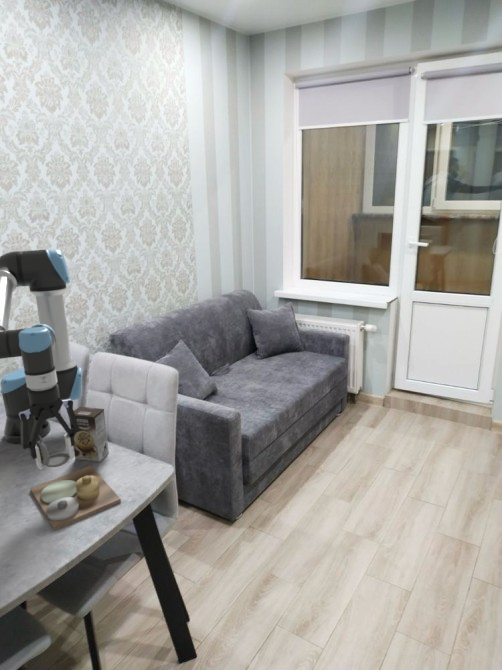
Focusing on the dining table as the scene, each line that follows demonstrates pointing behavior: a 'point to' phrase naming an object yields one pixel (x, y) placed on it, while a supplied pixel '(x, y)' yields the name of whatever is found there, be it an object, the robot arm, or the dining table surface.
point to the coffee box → (90, 434)
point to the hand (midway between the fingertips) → (55, 461)
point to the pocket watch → (51, 456)
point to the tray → (74, 497)
